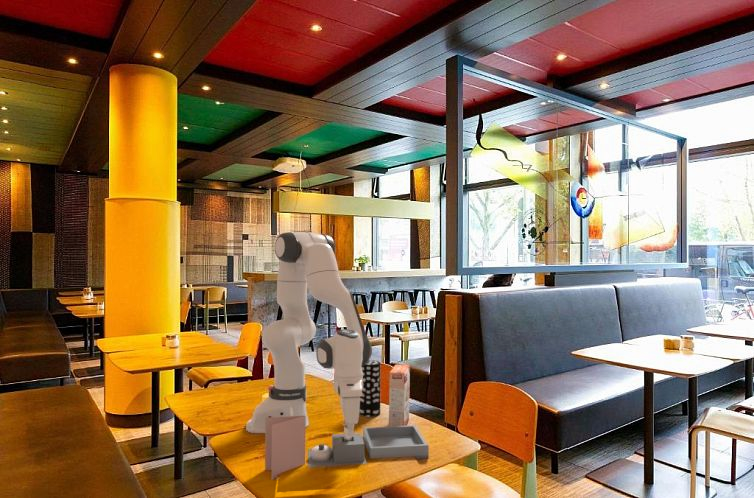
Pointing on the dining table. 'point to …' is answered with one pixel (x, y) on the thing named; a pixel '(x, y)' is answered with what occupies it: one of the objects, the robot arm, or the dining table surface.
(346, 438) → the lock pin
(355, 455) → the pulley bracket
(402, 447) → the tray
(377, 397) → the white-spotted black cylinder
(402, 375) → the cracker box
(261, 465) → the dining table surface
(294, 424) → the greeting card
